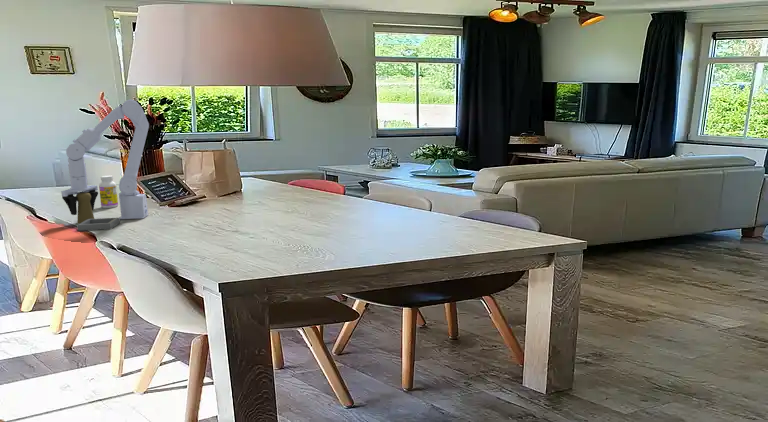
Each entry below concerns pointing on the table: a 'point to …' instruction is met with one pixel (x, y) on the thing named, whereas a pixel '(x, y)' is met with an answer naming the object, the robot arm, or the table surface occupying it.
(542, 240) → the table surface
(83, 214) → the cork
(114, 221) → the socket holder
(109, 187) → the supplement bottle
